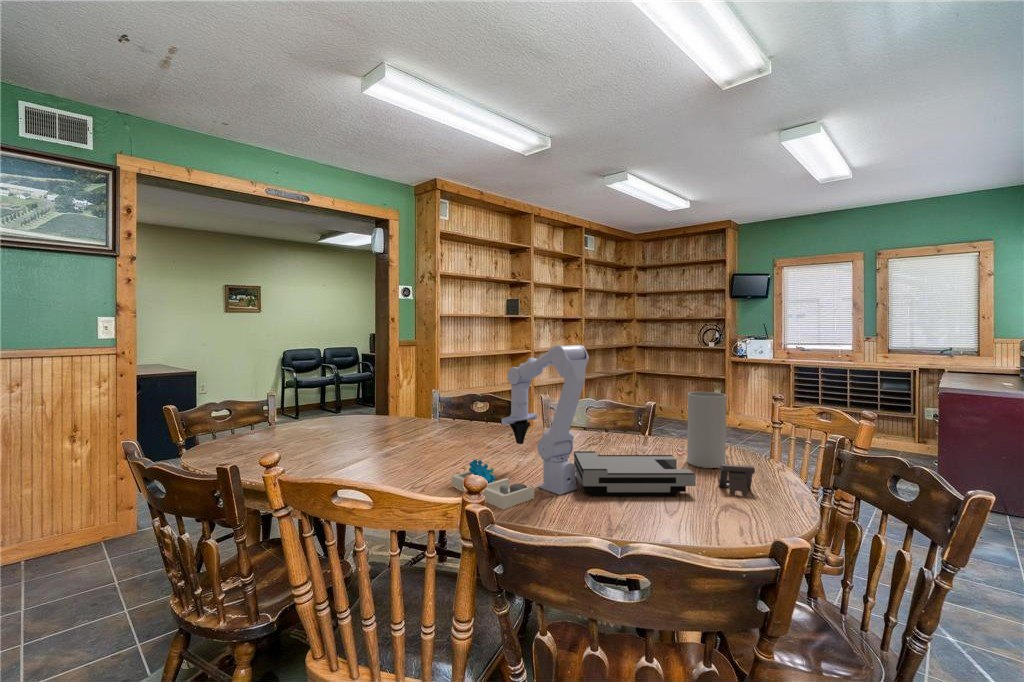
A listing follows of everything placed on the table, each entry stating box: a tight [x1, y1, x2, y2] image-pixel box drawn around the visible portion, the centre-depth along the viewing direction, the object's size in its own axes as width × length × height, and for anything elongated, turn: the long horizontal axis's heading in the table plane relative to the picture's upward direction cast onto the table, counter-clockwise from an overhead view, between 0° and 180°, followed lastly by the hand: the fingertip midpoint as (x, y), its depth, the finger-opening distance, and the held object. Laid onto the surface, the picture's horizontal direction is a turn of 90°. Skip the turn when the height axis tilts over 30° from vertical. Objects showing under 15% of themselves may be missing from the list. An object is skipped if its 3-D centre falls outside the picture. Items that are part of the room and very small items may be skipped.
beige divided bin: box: [451, 470, 535, 510], centre depth 139 cm, size 24×13×4 cm, turn 42°
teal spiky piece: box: [468, 459, 496, 484], centre depth 146 cm, size 11×6×10 cm
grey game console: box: [573, 450, 697, 498], centre depth 145 cm, size 21×32×8 cm, turn 90°
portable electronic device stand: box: [718, 463, 756, 497], centre depth 140 cm, size 9×8×8 cm
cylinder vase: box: [686, 391, 727, 469], centre depth 167 cm, size 12×12×25 cm
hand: (519, 443), depth 157 cm, fingers closed
